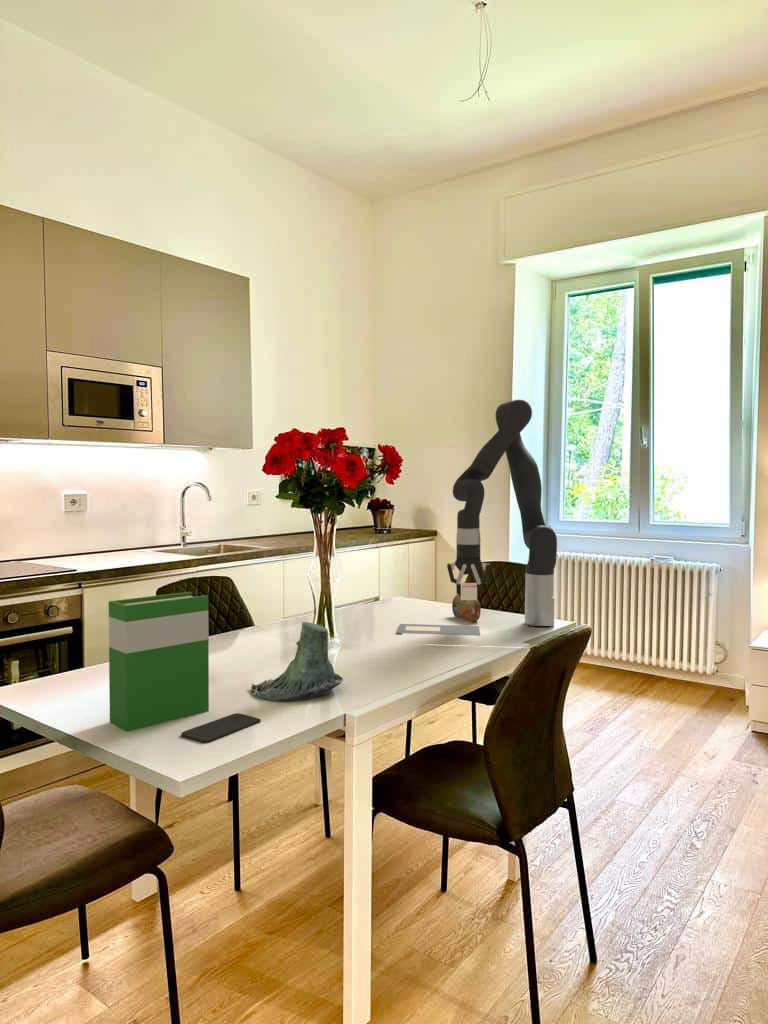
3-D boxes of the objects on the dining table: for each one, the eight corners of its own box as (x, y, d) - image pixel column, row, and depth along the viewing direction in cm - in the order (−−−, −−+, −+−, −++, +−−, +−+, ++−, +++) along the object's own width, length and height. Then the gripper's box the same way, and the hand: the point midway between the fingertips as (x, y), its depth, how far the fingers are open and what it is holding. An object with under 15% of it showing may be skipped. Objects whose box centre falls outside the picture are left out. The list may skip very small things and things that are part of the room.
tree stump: (259, 680, 172) (277, 608, 172) (338, 701, 172) (357, 629, 172) (240, 699, 154) (261, 619, 154) (330, 724, 153) (351, 643, 153)
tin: (451, 616, 252) (451, 592, 252) (458, 615, 253) (459, 592, 253) (474, 624, 238) (474, 599, 238) (482, 623, 240) (482, 598, 239)
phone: (263, 719, 142) (205, 741, 129) (263, 723, 142) (205, 746, 129) (236, 712, 146) (178, 733, 133) (236, 716, 146) (178, 737, 133)
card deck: (476, 595, 231) (476, 582, 230) (477, 600, 222) (477, 587, 221) (460, 595, 231) (460, 582, 231) (460, 600, 222) (460, 587, 222)
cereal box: (190, 702, 153) (189, 591, 152) (208, 711, 148) (208, 595, 147) (109, 722, 141) (108, 601, 139) (126, 731, 135) (125, 606, 134)
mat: (479, 627, 234) (479, 625, 234) (480, 636, 220) (480, 635, 220) (399, 625, 236) (399, 623, 236) (396, 634, 222) (396, 632, 222)
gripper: (490, 541, 228) (490, 594, 229) (445, 541, 230) (445, 593, 231) (492, 543, 221) (492, 598, 222) (445, 543, 222) (445, 597, 223)
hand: (468, 595), depth 226 cm, fingers closed on card deck, 5 cm apart
